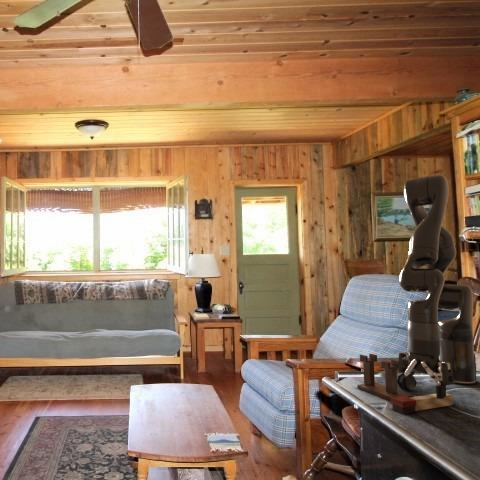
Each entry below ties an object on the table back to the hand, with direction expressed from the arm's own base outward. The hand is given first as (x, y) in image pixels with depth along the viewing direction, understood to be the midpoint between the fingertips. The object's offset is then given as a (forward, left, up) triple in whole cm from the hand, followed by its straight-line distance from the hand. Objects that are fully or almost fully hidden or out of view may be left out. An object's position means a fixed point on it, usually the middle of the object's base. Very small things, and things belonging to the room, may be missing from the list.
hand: (425, 393), depth 118 cm
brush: (+1, 0, -4) cm, 4 cm away
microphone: (-12, -19, -4) cm, 23 cm away
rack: (+1, -13, -4) cm, 13 cm away
